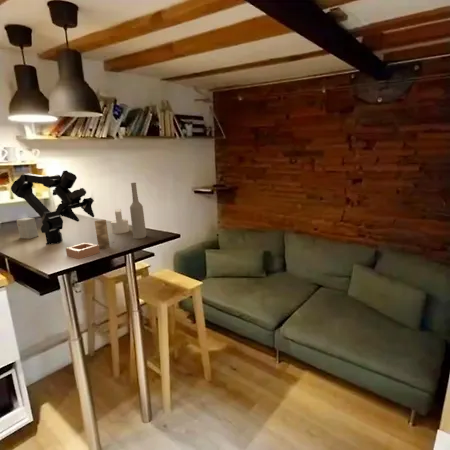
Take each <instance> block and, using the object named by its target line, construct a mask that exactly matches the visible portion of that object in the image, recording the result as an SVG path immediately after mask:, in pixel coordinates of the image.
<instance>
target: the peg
mask: <svg viewBox="0 0 450 450" xmlns="http://www.w3.org/2000/svg"><path fill="white" fill-rule="evenodd" d="M94 225H95V226H94V227H95V233H96V239H97V245H99V250H106V249H109V248H110V247H111V245H110V239H109V232H108V231H109V230H108V225H107V220H106V219H96V220H94Z"/></svg>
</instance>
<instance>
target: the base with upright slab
mask: <svg viewBox="0 0 450 450" xmlns="http://www.w3.org/2000/svg"><path fill="white" fill-rule="evenodd" d="M114 215H115V220H112V221H110V224H111V225H110V226H111V232H112V234H114V235H115V234H116V235H117V234H118V235H119V234H125V233H128V232H130V228H129V227H130V226H129V220H128V219H126V218H123V215H122V208H118V209H117V208H116V209H114Z"/></svg>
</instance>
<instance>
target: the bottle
mask: <svg viewBox="0 0 450 450" xmlns="http://www.w3.org/2000/svg"><path fill="white" fill-rule="evenodd" d="M130 184H131V193H132V194H131V196H132V203H131V204H130V206H129V210H130V220H131V228H132V237H133V239H136V240H137V239H140V240H141V239H145V238H146V237H147V230H146V222H145V213H144V205H142V203H141V202H140V201H139V196H138V189H137V182H131V183H130Z"/></svg>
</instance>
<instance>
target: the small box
mask: <svg viewBox="0 0 450 450" xmlns="http://www.w3.org/2000/svg"><path fill="white" fill-rule="evenodd" d="M16 225H17V229H18V234H19V239H28V240H31V239H34V238H36V237H38V236H39V232H38V229H37V223H36V219H35V217H22V218H18V219H16Z"/></svg>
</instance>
